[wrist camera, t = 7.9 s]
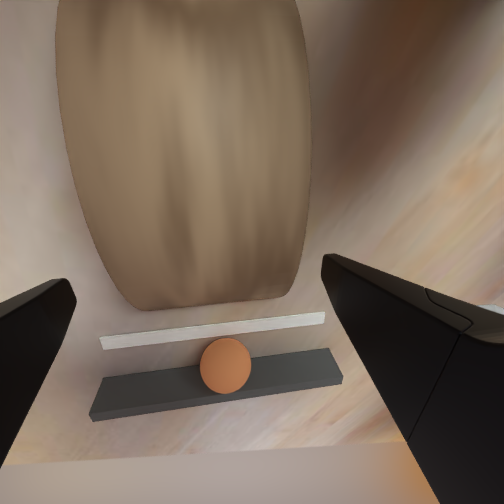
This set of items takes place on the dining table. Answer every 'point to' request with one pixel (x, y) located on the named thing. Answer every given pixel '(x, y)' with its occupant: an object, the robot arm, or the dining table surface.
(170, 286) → the hump
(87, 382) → the dining table surface
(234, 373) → the ball
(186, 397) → the bar
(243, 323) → the line
